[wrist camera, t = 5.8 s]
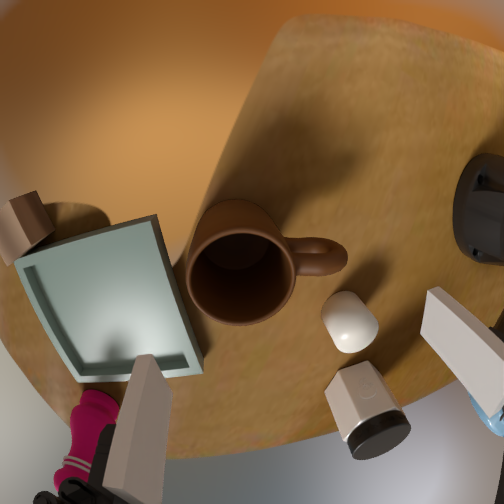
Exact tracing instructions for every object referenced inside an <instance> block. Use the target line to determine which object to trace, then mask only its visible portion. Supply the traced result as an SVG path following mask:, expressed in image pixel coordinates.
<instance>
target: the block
mask: <svg viewBox="0 0 504 504" xmlns="http://www.w3.org/2000/svg"><path fill="white" fill-rule="evenodd" d="M53 231H55V228H54V226H53V224H52V222H51V220H50V218H49V216H48V214H47V212H46V210H45V208H44V206H43V203H42V201H41V200H40V197H39V195H38V193H37V191H33V192H30V193H27V194H24V195H22V196H19V197H16V198H14V199H11V200H9V201H8V202H7V203H6V204H5V205H4V206H3V207H2V209H0V254H1V256H2V258H3V260H4V262H5V264H6V265H7V267H8V266H9V265H10V264H12V263H13V262H14V261H16V260H17V259H18V258H20V257H21V256H23V255H24V254H25V253H27V252H28V251H30V250H31V249H32V248H33V247H35V246H36V245H37V244H38V243H40V242H41V241H42V240H43V239H45V238H46V237H47V236H48V235H50V234H51V233H52V232H53Z"/></svg>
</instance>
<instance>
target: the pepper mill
mask: <svg viewBox="0 0 504 504" xmlns="http://www.w3.org/2000/svg"><path fill="white" fill-rule="evenodd" d="M118 412H119V406H118V404H117V403H116V401H115V400H114V399H113V398H111V397H110V396H108V395H107V394H105V393H103V392H101V391H97V390H86V391H84V392H83V394H82V396H81V399H80V405H77V406H75V407H74V408H73V410H72V413H71V417H70V427H71V434H72V446H71V450H70V453H69V454H68V456H64V458H63V459H64V461H63V462H62V465H63V468H61V469H59V470H57V471H56V472H55V475H54V485H55V488H56V490H57V491H58V489H59V486H60V484H61V482H62V481H63V480H65V479H66V478H68V477H72V476H73V477H79V478H80V479H82V480H84V481H85V482H87V481H88V477H89V473H90V469H91V465H92V461H93V457H94V454H95V449H96V446H97V445H98V444H97V442H98V439H99V435H100V433H101V431H102V430H103V428H104V427H105V426H106V424H116V422H115V420H116V419H117V416H118Z"/></svg>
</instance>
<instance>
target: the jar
mask: <svg viewBox="0 0 504 504" xmlns="http://www.w3.org/2000/svg"><path fill="white" fill-rule="evenodd" d="M324 393H325V395H326V398H327V400H328V403H329V405H330V408H331V411H332V413H333V416H334V418H335V421H336V423H337V426H338V429H339V431H340V434H341V437H342V439H343V441H345V442H347V444H348V446H349V449H350V451H351V454H352V457H353V458H354V459H357V460H366V459H370V458H374V457H377V456H379V455H382V454H384V453H386V452H388V451H389V450H391V449H393V448H394V447H396V446H397V445H398V444H400V443H401V442H402V441H403V440H404V439H405V438H406V437H407V436H408V434H409V433H410V431H411V425H410V424H409V422H408V420H407V418H406V416H405V413H404V412H403V410H402V408H401V407H400V405H399V403H398V402H397V400H396V398H395V397H394V395H393V393H392V392H391V390H390V388H389V387H388V385H387V383H386V382H385V380H384V379H383V377H382V375H381V374H380V372H379V371H378V370H377V369H376V368H375V367H374V366H373V365H372V364H371V363H370V362H369V361H364V362H361V363H359V364H356V365H353V366H350V367H347V368H344V369H341V370H338V372H337V373H336V375H335V376H334V378H333V379H332V381H331V382H330V384H329V385H328V387H327V388H326V390H325V392H324Z"/></svg>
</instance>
